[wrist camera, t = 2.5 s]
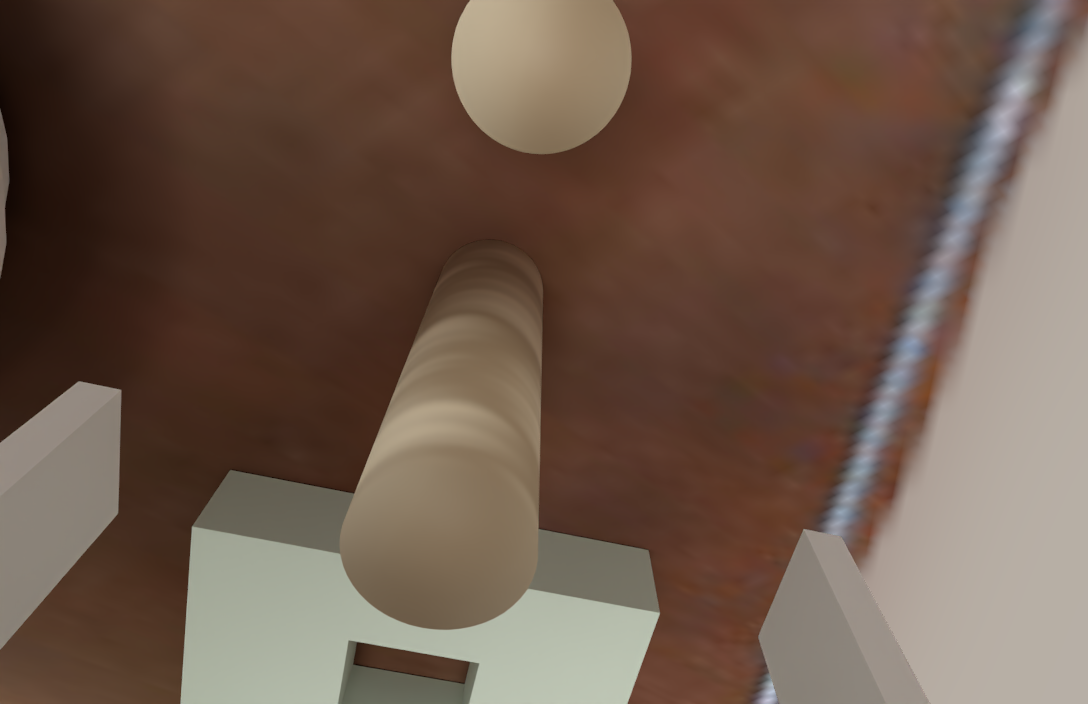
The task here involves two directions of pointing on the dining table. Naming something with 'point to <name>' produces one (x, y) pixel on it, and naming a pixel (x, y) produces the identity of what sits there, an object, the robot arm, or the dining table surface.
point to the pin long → (457, 453)
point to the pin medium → (541, 70)
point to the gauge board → (347, 618)
